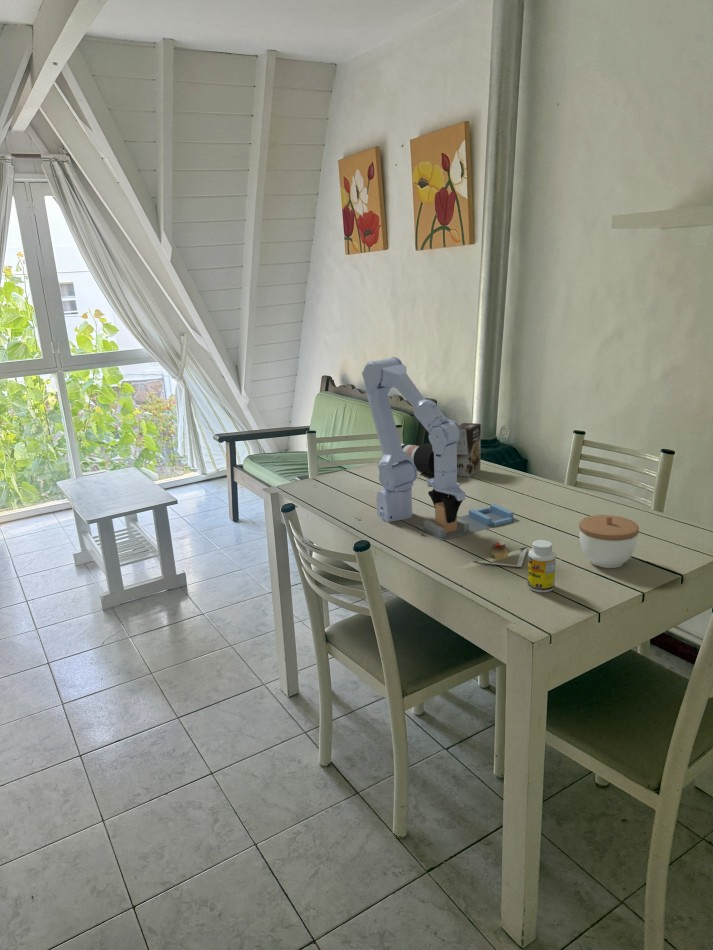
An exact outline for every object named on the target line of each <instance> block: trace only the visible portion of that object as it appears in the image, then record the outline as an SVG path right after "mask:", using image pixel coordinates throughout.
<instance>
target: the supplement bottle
mask: <svg viewBox="0 0 713 950" xmlns="http://www.w3.org/2000/svg"><path fill="white" fill-rule="evenodd" d="M556 557H557V555H556V553H555V551H554V550H553V543H552V542H551V541H548V540H545V539H544V540H543V539H538V540H534V541H533V542H532V547H531V549H530V550H529V551H528V555H527V559H528V560H527V587H528V589H529V590H531V591H534V592H536V593H549V592H551V591H552V590H553V591H554V589H555V582H556V580H555V579H556V578H555V577H556V561H557V560H556Z"/></svg>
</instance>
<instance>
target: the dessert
mask: <svg viewBox="0 0 713 950" xmlns="http://www.w3.org/2000/svg"><path fill="white" fill-rule="evenodd" d="M518 550H520V554H519V558H518V559H517V564H516V565H515V564H508V563H507V564H505V563H498V562H487V561H478V560H476V561H473V563H476V564H486V565H493V566H501V567H502V566H504V567H512V568H513V567H514V568H521V567H522V565H523V562H524V559H525V556H526V554H527V550H528V546H526V547H522V548H518ZM490 554H491V555H492V556H490V559H493V560H506V559H508V558H509V556H510V555H509V553H508V548H507V546H506V544H505V541H504V540H503V539H501V538H500V539H499V540H498V542H494V543H492V547H491V549H490Z"/></svg>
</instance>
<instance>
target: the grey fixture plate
mask: <svg viewBox="0 0 713 950" xmlns="http://www.w3.org/2000/svg"><path fill="white" fill-rule="evenodd" d="M518 521H520V519H518V518H517V517H516V518H515V517H514V511H511V510H509V509H507V508H505V507H502V506H501V505H498V504H497V503H494V504H490V505H489V507H488V506H486V507H482V508H479V509H474V508H472V509H469V510H468V514H466V515H462V516H457V530H456V531H452V532H448V533H446V529H445V528H443V527H441V526H439V525H437V524H436V523H435V522H434V521H432V520H430V519H426V520H423V525H421V526H417V528H419V529H420V530H422V531H423V532H426V534H429V535H430V536H433V537H434V538H436V539H437V540H439V541H445V540H446V541H447V540H450V539H454V538H458V537H461V536H464V535H468V534H469V535H470V534H472V533H475V532H481V531H483V530H487V529H491V528H496V527H499V526H504V525H507V524H511V523H515V522H518Z"/></svg>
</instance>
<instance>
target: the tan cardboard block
mask: <svg viewBox="0 0 713 950" xmlns="http://www.w3.org/2000/svg"><path fill="white" fill-rule="evenodd" d="M434 509H435V510H434V511H435V512H434V513H435V515H434V516H435V518H434V519H435V522H434V523H436V524H437V525H439V526H441V527H443V528H445V529H446V533H448V532H452V531H456V530H457V517H458V515H457V516H456V520H455V522H451V523H448V522H447V520H446V511H445V507H444V504H443V502H439V503H435V507H434Z"/></svg>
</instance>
